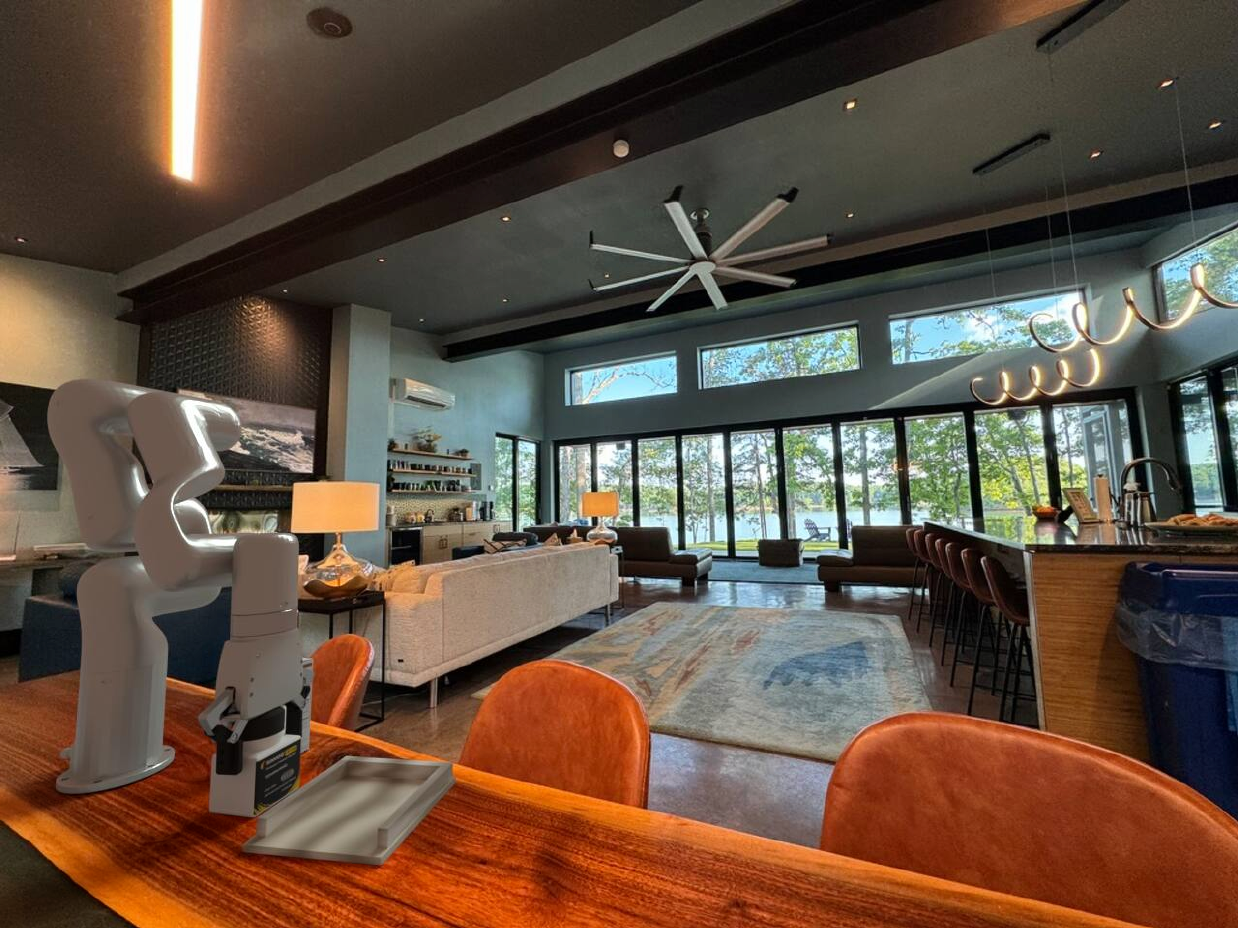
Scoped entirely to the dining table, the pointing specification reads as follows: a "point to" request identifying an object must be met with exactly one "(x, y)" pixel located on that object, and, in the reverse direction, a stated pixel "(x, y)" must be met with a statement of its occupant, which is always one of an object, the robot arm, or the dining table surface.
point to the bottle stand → (353, 810)
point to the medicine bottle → (259, 768)
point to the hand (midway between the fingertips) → (261, 755)
